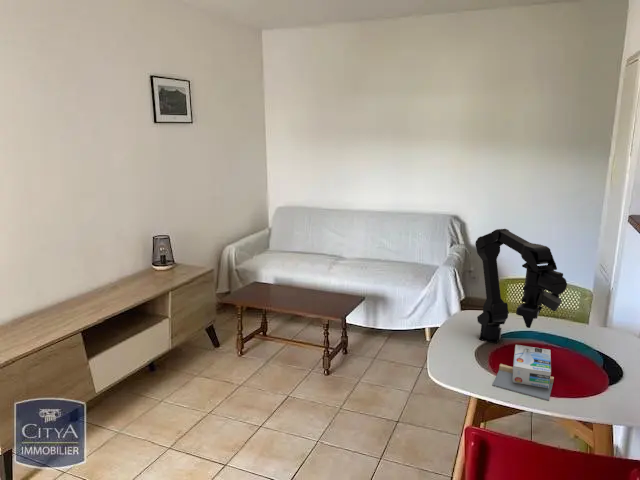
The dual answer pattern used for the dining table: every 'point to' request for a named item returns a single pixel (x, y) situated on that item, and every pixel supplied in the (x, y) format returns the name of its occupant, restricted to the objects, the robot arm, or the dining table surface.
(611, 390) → the dining table surface
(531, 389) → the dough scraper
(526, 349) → the light bulb box
